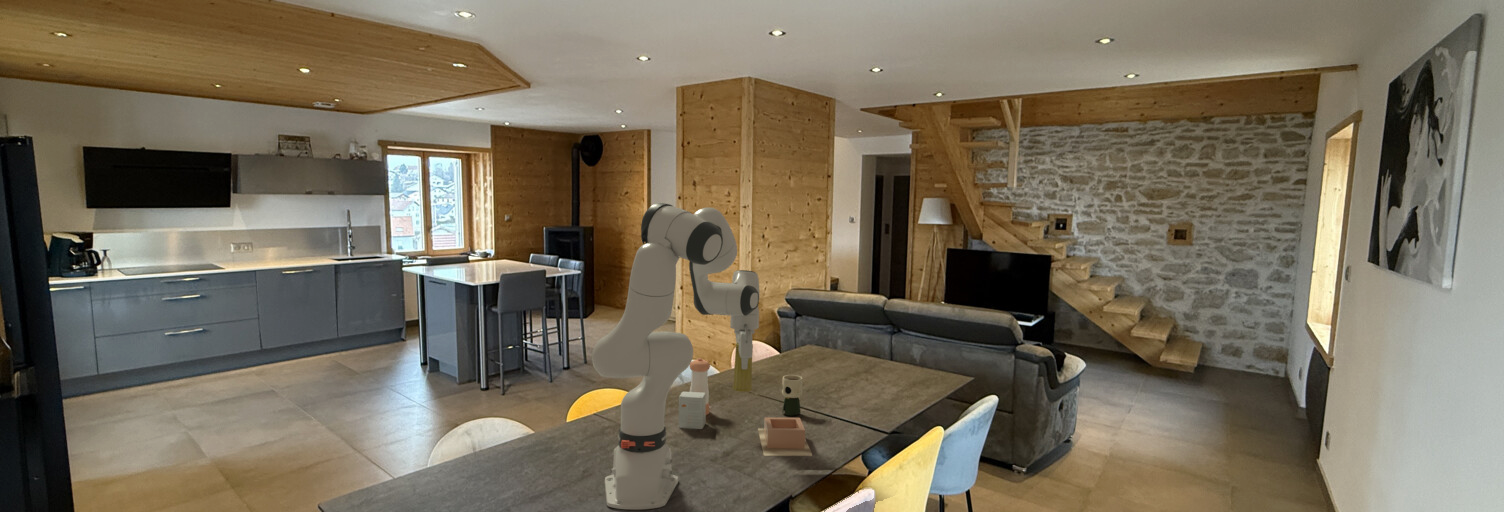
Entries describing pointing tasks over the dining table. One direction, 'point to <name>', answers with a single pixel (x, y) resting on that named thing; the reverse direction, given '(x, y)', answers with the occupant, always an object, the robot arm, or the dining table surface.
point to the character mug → (792, 394)
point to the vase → (742, 374)
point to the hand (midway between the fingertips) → (743, 366)
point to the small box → (692, 410)
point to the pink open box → (784, 433)
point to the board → (783, 449)
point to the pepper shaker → (700, 378)
